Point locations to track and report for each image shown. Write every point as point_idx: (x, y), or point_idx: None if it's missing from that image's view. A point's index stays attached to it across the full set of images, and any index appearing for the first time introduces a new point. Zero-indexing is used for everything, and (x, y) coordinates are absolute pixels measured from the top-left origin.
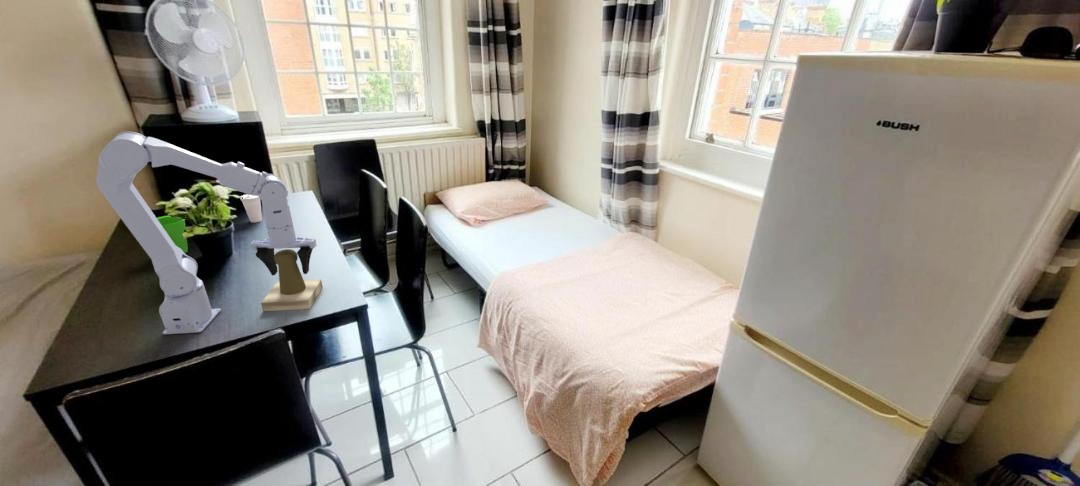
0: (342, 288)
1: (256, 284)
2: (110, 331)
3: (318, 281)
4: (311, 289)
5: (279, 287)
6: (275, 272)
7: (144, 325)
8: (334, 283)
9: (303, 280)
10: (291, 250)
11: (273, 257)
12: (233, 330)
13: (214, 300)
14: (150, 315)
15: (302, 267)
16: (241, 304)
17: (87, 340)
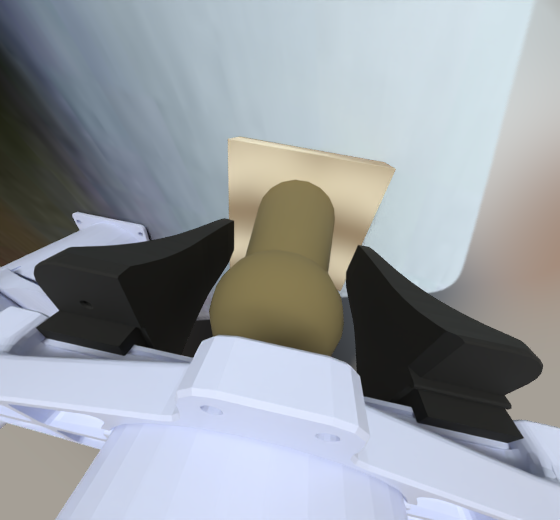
0: (449, 191)
1: (136, 59)
2: (12, 240)
3: (382, 185)
4: (352, 240)
5: (249, 197)
6: (232, 242)
7: (47, 238)
8: (435, 138)
9: (332, 222)
10: (312, 342)
11: (194, 261)
12: (212, 296)
13: (89, 165)
14: (14, 202)
15: (351, 305)
16: (173, 208)
17: (10, 256)
